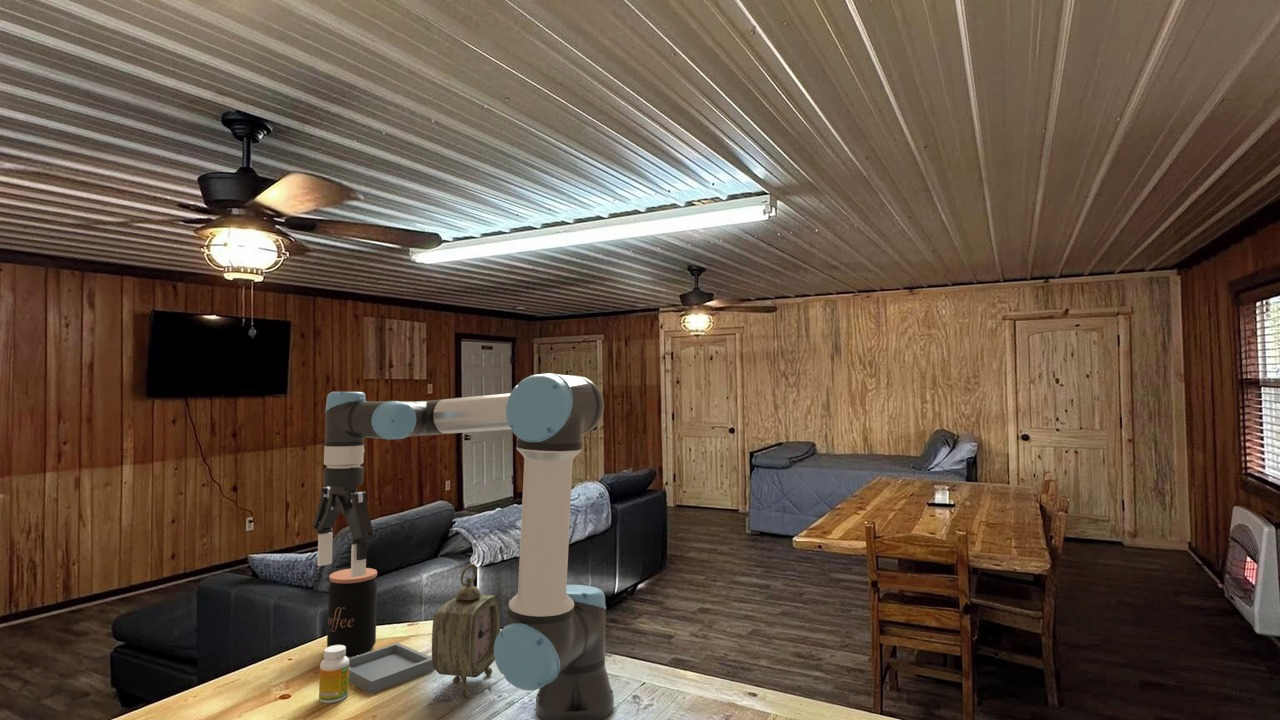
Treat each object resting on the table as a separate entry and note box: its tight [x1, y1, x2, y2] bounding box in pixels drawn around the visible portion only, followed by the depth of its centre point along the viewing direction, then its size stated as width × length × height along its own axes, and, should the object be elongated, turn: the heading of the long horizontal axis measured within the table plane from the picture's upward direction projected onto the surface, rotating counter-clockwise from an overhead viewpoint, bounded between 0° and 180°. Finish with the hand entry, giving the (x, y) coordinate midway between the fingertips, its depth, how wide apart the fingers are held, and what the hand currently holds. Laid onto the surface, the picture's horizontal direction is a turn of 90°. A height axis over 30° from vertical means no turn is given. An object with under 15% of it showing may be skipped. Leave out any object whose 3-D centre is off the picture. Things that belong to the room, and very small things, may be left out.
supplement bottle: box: [318, 645, 350, 704], centre depth 132 cm, size 5×5×10 cm
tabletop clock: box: [431, 563, 501, 698], centre depth 138 cm, size 14×9×25 cm, turn 168°
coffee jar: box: [326, 567, 378, 658], centre depth 157 cm, size 11×11×18 cm
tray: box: [348, 642, 436, 695], centre depth 144 cm, size 15×15×2 cm
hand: (340, 570), depth 134 cm, fingers open, 13 cm apart
